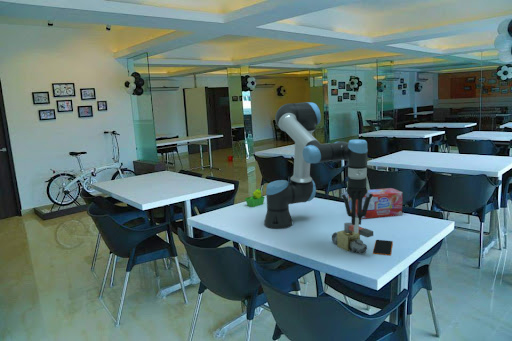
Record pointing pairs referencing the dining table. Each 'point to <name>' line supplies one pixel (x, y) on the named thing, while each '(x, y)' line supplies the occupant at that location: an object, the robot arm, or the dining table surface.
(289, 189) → the robot arm
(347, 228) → the lever
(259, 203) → the fruit basket
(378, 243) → the smartphone
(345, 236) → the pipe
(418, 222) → the dining table surface
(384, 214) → the box
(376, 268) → the dining table surface
